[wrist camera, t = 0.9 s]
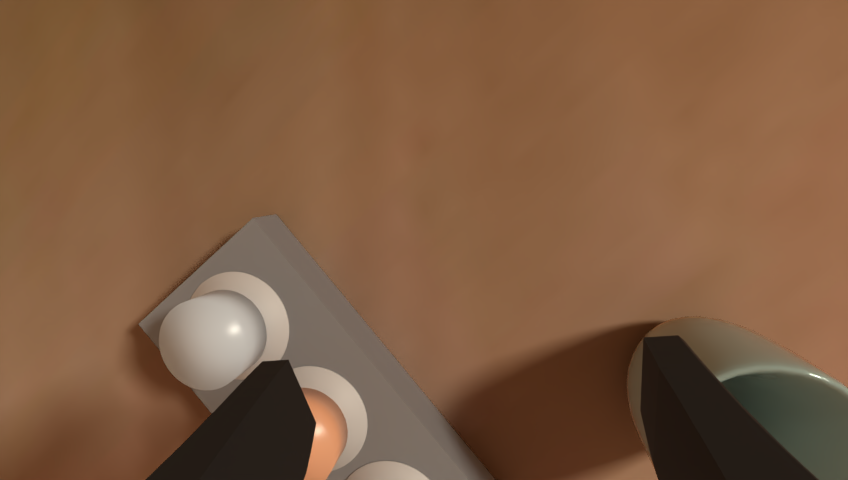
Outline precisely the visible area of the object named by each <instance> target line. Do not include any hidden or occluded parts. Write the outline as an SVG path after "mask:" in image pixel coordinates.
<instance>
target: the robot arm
mask: <svg viewBox="0 0 848 480" xmlns="http://www.w3.org/2000/svg"><path fill="white" fill-rule="evenodd" d="M640 412H641V416H642V420H643V425H644V429H645V433H646V438H647V442H648V446H649V450H650V454H651V458H652V462H653V465H654V468H655V471H656V474H657V477H658V480H819V479H817V478H816V477H815V476H814V475H813V474H812V473H811V472H810V471H809V470H808V469H807V468H806V467H804V466H803V465H802V464H801V463H800V462H799V461H798V460H797V459H796V458H795V457H794V456H793V455H792V454H790V453H789V452H788V451H787V450H786V449H785V448H784V447H783V446H782V445H781V444H780V443H779V442H778V441H777V440H776V439H775V438H774V437H773V436H772V435H771V434H770V433H769V432H768V431H767V430H766V429H765V428H764V427H763V426H762V425H761V424H760V423H759V422H758V421H757V420H756V419H755V418H754V417H753V416H752V415H751V414H750V413H749V412H748V411H747V410H746V409H745V408H744V407H743V406H742V405H741V404H740V402H739V401H738V400H737V399H736V398H735V397H734V396H733V395H732V394H731V393H730V392H729V391H728V390H727V389H726V387H725V386H724V385H723V384H722V383H721V382H720V381H719V380H718V379H717V378H716V377H715V375H714V374H713V373H712V372H711V371H710V370H709V369H708V368H707V366H706V365H705V364H704V363H703V362H702V361H701V360H700V358H699V357H698V356H697V355H696V354H695V353H694V351H693V350H692V349H691V348H690V347H689V345H688V344H687V343H686V342H685V341H684V340H683V339H682V338H681V337H680V336H678V335H674V336H658V337H643V357H642V381H641V404H640ZM315 428H316V421H315V419H314V416H313V414H312V412H311V410H310V407H309V405H308V403H307V400H306V398H305V396H304V394H303V391H302V389H301V387H300V385H299V382H298V380H297V378H296V375H295V373H294V371H293V369H292V366H291V364H290V362H289V360H275V361H262V362H261V363H260V364H259V365H258V366H257V367H256V368H255V369H254V370H253V371H252V372H251V373H250V374H249V375H248V376H247V377H246V378H245V379H244V380H243V381H242V383H241V384H240V385H239V386H238V387H237V388H236V389H235V390H234V391H233V392H232V393H231V394H230V395H229V396H228V397H227V398H226V399H225V400H224V402H223V403H222V404H221V405H220V406H219V407H218V408H217V409H216V410H215V411H214V412H213V413H212V414H211V415H210V416H209V417H208V418H207V419H206V420H205V421H204V422H203V423H202V425H201V426H200V427H199V428H198V429H197V430H196V431H195V432H194V433H193V434H192V435H191V436H190V437H189V438H188V439H187V440H186V441H185V442H184V443H183V444H182V445H181V446H180V447H179V448H178V449H177V450H176V451H175V452H174V453H173V454H172V455H171V456H170V457H169V458H168V459H167V460H166V461H165V462H163V463H162V464H161V465H160V466H159V467H158V468H157V469H156V470H155V471H154V472H153V473H152V474H151V475H150V476H149V477H148V478H147V479H146V480H304V478H305V475H306V472H307V468H308V463H309V459H310V454H311V449H312V444H313V439H314V433H315Z"/></svg>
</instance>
